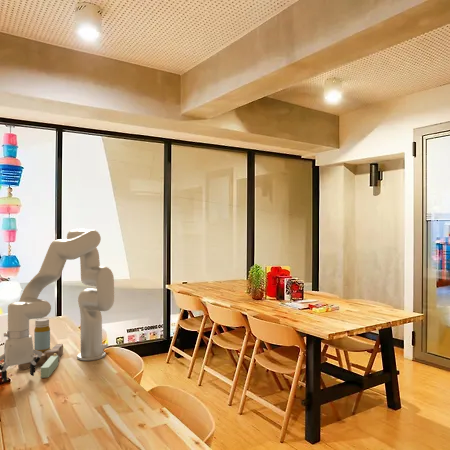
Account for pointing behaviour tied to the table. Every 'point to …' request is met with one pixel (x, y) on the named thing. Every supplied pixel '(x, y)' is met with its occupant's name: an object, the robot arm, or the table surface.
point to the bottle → (42, 335)
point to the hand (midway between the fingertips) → (18, 377)
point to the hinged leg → (49, 366)
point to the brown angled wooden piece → (44, 357)
